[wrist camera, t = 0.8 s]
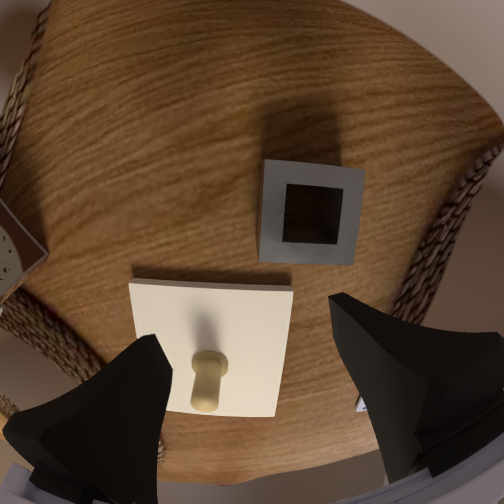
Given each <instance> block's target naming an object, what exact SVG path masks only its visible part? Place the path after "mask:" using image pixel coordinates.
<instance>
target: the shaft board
mask: <svg viewBox="0 0 504 504" xmlns="http://www.w3.org/2000/svg"><path fill="white" fill-rule="evenodd" d="M129 290H130V297H131V304H132V311H133V317H134V323H135V329H136V334H137V339H138V338H140V337H141V336H143V335H149V334H155V335H156V337H157V339H158V341H159V343H160V345H161V347H162V349H163V351H164V353H165V355H166V357H167V359H168V361H169V363H170V365H171V366H172V368H173V377H172V386H171V392H170V396H169V400H168V404H167V408H166V410H168V411H176V412H184V413H194V414H205V415H219V416H242V417H274V416H275V410H276V405H277V399H278V393H279V388H280V382H281V376H282V369H283V363H284V357H285V350H286V343H287V336H288V329H289V322H290V315H291V307H292V300H293V289H292V286H284V285H253V284H229V283H208V282H189V281H172V280H157V279H142V278H133V279H132V280H131V281H130V282H129Z"/></svg>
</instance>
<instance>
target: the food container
mask: <svg viewBox="0 0 504 504" xmlns="http://www.w3.org/2000/svg"><path fill="white" fill-rule="evenodd" d="M48 256H49V253H48V252H47V251H46V250H45V249H44V248H43V247H42V246H41V245H40V244H39V243H38V242H37V241H36V240H35V239H34V237H33V236H32V235H31V234H30V233H29V232H28V231H27V230H26V229H25V227H24V226H23V225H22V224H21V223H20V222H19V220H18V219H17V218H16V217H15V216H14V215H13V213H12V212H11V211H10V210H9V208H8V207H7V206H6V205H5V203H4V202H3V201H2V200H1V198H0V305H1V304H2V303H3V302H4V301H5V300H6V299H7V298H8V297H9V296H10V295H11V294H12V293H13V292H14V291H15V290H16V289H17V288H18V287H19V286H20V285H21V284H22V283H23V282H25V281H26V280H27V279H28V278H29V277H30V276H31V275H32V274H33V273H35V272H36V271H37V270H38V269H39V268H40V267H41V266H43V264H44V263H45V262H46V260H47V258H48ZM2 308H3V307H2V306H0V315H1V312H2Z"/></svg>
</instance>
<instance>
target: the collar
mask: <svg viewBox="0 0 504 504" xmlns="http://www.w3.org/2000/svg"><path fill="white" fill-rule="evenodd" d="M364 176H365V170H361V169H354V168H347V167H340V166H332V165H323V164H314V163H305V162H294V161H282V160H268V159H264V160H261V163H260V181H259V198H258V216H257V233H256V246H257V253H258V260H259V262H273V263H300V264H328V265H353V261H354V256H355V249H356V243H357V236H358V229H359V222H360V214H361V206H362V197H363V187H364ZM286 183H287V184H300V185H311V186H322V187H324V189H323V200H322V211H321V220H320V229H317V228H301V227H283V224H284V211H285V198H286Z"/></svg>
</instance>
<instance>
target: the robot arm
mask: <svg viewBox="0 0 504 504" xmlns="http://www.w3.org/2000/svg"><path fill="white" fill-rule="evenodd" d="M328 298H329V306H330V313H331V321H332V330H333V338H334V340H335V343H336V346H337V349H338V351H339V354H340V357H341V359H342V361H343V363H344V364H345V366H346V368H347V370H348V372H349V374H350V376H351V378H352V380H353V382H354V384H355V385H356V387H357V389H358V391H359V393H360V395H361V396H360V398H359V401H358V403H357V405H356V407H355V409H356V411H357V412H360V411H366V410H367V412H368V414H369V417H370V420H371V423H372V426H373V429H374V432H375V435H376V438H377V441H378V445H379V448H380V451H381V455H382V459H383V462H384V466H385V470H386V475H385V480H384V486H383V487H381V488H378V489H375V490H372V491H369V492H367V493H363V494H360V495H357V496H354V497H350V498H347V499H343V500H340V501H336V502H332V503H328V504H498V503H497V502H498V501H499V500H500V499H501V498H503V497H504V391H503V388H504V338H503V337H502V336H501V335H500V334H499V333H497V332H484V333H483V332H482V333H467V332H452V331H445V330H438V329H433V328H428V327H424V326H420V325H416V324H413V323H410V322H406V321H403V320H400V319H398V318H395V317H393V316H390V315H388V314H385V313H383V312H381V311H379V310H376V309H374V308H372V307H370V306H368V305H366V304H364V303H363V302H361V301H359V300H357V299H355V298H353V297H351V296H350V295H348V294H346V293H344V292H342V293H338V294H334V295H331V296H328ZM172 377H173V368H172V366H171V365H170V363H169V361H168V359H167V357H166V355H165V353H164V351H163V349H162V347H161V345H160V343H159V341H158V339H157V337H156V335H155V334H149V335H143V336H141V337H140V338H138V339H137V340H136V341H134V342H133V343H132V344H131V345H129V346H128V347H127V348H126V349H125V350H124V351H123V352H121V353H120V354H119V355H118V356H117V357H116V358H114V359H113V360H112V361H111V362H110V363H109V364H107V365H106V366H105V367H104V368H102V369H101V370H100V371H99V372H97V373H96V374H95V375H94V376H92V377H91V378H90V379H88V380H87V381H85V382H84V383H82V384H81V385H79V386H78V387H76V388H75V389H73V390H71V391H69V392H67V393H66V394H64V395H62V396H60V397H58V398H56V399H54V400H52V401H49V402H47V403H45V404H42V405H40V406H37V407H34V408H31V409H28V410H24V411H20V412H16V413H14V414H13V415H12V416H11V417H10V419H9V420H8V422H7V423H6V425H5V426H4V428H3V429H2V431H3V435H4V437H5V438H6V440H7V441H8V442H9V444H10V445H11V446H12V447H13V448H14V449H15V450H16V451H17V452H18V453H19V454H20V455H21V456H22V457H23V458H24V459H25V460H27V461H28V462H29V463H30V464H31V465H32V466H33V467H35V468H34V470H33V472H31V471H30V470H28V469H26V468H25V467H22V466H20V465H18V464H16V463H12V464H11V466H10V468H9V470H8V472H7V473H6V475H5V477H4V480H3V482H2V484H1V486H0V504H158V500H157V455H158V445H159V437H160V432H161V427H162V423H163V419H164V415H165V412H166V408H167V404H168V400H169V396H170V392H171V386H172Z"/></svg>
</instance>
